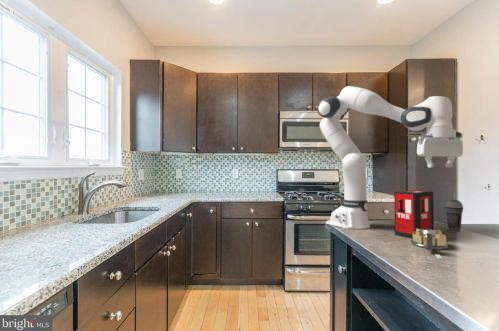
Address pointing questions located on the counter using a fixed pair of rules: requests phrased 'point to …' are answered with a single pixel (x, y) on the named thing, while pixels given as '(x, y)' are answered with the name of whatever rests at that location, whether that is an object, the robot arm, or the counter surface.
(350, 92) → the robot arm
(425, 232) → the flange
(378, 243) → the counter surface
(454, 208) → the beverage cup
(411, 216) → the cleaning product box
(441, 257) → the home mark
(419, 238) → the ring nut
